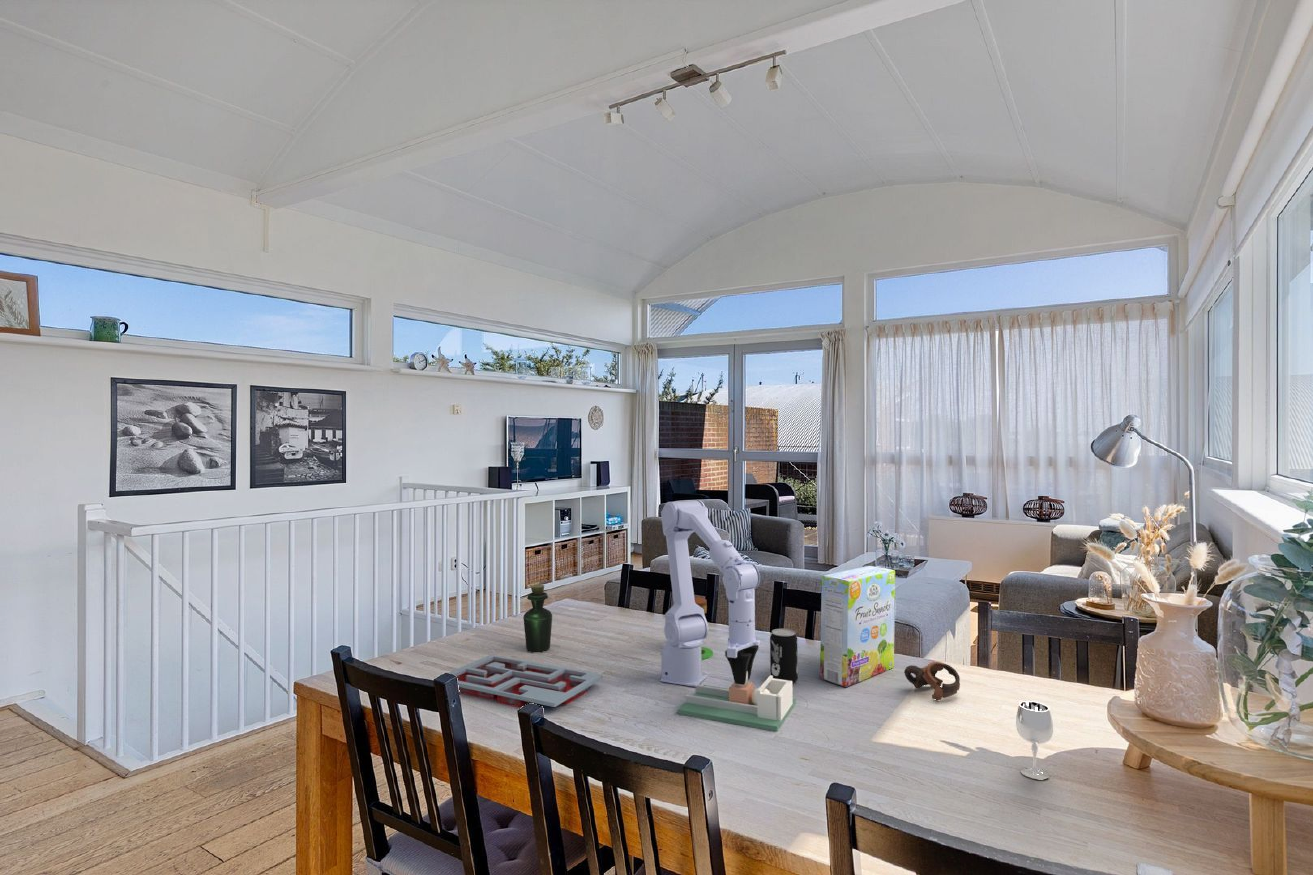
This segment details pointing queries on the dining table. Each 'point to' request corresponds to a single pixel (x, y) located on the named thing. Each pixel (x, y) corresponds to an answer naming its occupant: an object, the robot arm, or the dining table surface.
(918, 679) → the brown curved loop
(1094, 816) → the dining table surface
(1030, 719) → the wineglass
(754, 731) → the dining table surface
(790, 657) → the beverage can
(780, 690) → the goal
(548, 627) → the potion bottle
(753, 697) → the ball
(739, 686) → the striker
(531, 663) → the maze game
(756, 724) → the pitch board
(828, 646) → the snack box
